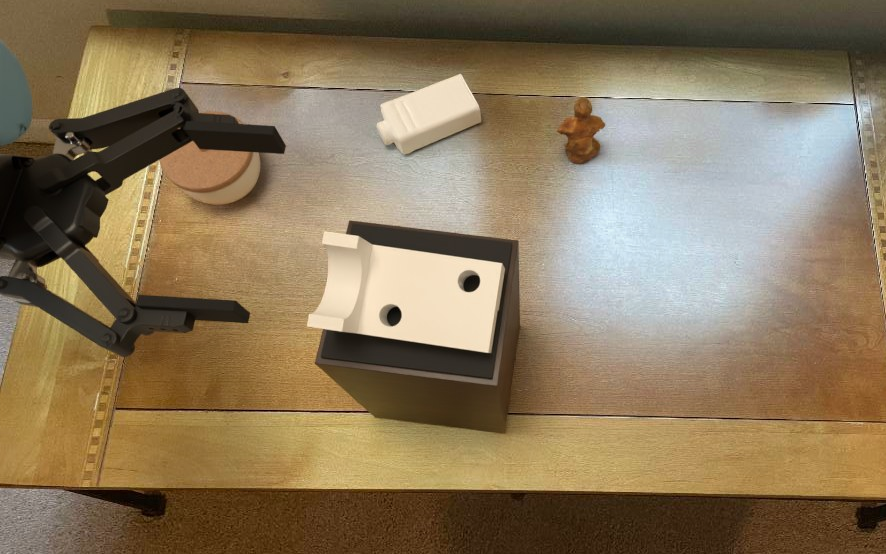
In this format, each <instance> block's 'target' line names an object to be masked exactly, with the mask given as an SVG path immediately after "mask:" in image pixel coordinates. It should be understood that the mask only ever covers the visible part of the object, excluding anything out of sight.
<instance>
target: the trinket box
mask: <svg viewBox="0 0 886 554" xmlns="http://www.w3.org/2000/svg"><path fill="white" fill-rule="evenodd" d="M199 113H207V114H221V115H222V114H224V115H231V116H233V117H235V118H236V120H237V121H238V123H239V124H244V122H242V121H241V119H239V118H238V117H236V116H234V115H232V114H230V113H227V112H223V111H214V110H209V111H202V112H201V111H199ZM178 129H180V128H178ZM158 162H159V166H160V168H161V171H162V173H163V174H164V176H165V177H166V178H167V179H168V180H169V181H170V182H171V183H172V184H173V185H175V186H176V187H177V188H178V189H180V190H181V191H182V192H183V193H184V194H185V195H187V196H188V197H189V198H192V199H194V200H196V201H199V202H201V203H204V204H208V205H215V206H218V205H220V206H221V205H227V204H232V203H235V202H237V201H240V200H241V199H243V198H244V197H246V196H247V195H249V193H250V192H251V191H252V190H253V189H254V187H255V186H256V184H257V182H258V180H259V177H260V174H261V165H262V164H261V157H260V153H258V152H241V151H224V150H207V149H199V148H198V146H197V145H196V144H195V143H194V141H192V142H190V143H188V144H187V145H185V146H183V147H181V148H179V149H178V150H176V151H174V152H172V153H171V154H169V155H167V156H165V157H163V158H162V159H160V160H158Z"/></svg>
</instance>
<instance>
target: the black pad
mask: <svg viewBox="0 0 886 554" xmlns="http://www.w3.org/2000/svg"><path fill="white" fill-rule="evenodd" d="M350 235H355V236H359V237H361V238H363V239H364V240H366V241H367V242H369V243H371V244H372V245H379V246H386V247H393V248H399V249H406V250H413V251H420V252H427V253H434V254H441V255H448V256H455V257H462V258H469V259H476V260H483V261H490V262H497V263H502V264H503V266H504V268H505V272H504V279H503V285H502V292H501V298H500V305H499V311H498V312H497V318H496V325H495V331H494V338H493V344H492V351H491V353H486V352H479V351H472V350H466V349H459V348H452V347H445V346H439V345H432V344H425V343H418V342H411V341H405V340H398V339H391V338H384V337H378V336H371V335H364V334H357V333H349V332H341V331H334V330H327V331H326V336H325V340H324V344H323V348H322V352H321V358H324V359H332V360H340V361H348V362H356V363H364V364H372V365H380V366H388V367H396V368H404V369H412V370H420V371H428V372H437V373H445V374H453V375H461V376H469V377H477V378H485V379H492V378H493V371H494V364H495V358H496V351H497V344H498V337H499V331H500V324H501V317H502V310H503V303H504V297H505V290H506V283H507V276H508V270H509V263H510V256H511V249H512V243H511V242H503V241H494V240H486V239H478V238H469V237H461V236H452V235H444V234H436V233H427V232H419V231H411V230H402V229H394V228H385V227H377V226H369V225H360V224H352V227H351V231H350ZM479 285H480V277H479V276H477V275H471V276H469V277H467V278H466V279H465V281H464V284H463V288H464V291H465V292H473V291H475V290H476V289H477V288H478V287H479ZM401 317H402V313H401V310H400V308H399V307H398V306H396V307H393V308H391V309H390V310H389V312H388V314H387V321H388V323H389V324H390V325H391V326H395V325H397V324H398V323H399V322H400V320H401Z"/></svg>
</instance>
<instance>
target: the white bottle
mask: <svg viewBox="0 0 886 554" xmlns="http://www.w3.org/2000/svg"><path fill="white" fill-rule="evenodd" d="M380 111H381V115H382V119H383V120H382V121H378V122H377V123H376V130H377V132H378V135H379V136H380V139H381V140H382V143H383V144H384V145H386V146H389V145H392V144H394V145H395V147H396V148H397V150H398V151H399V152H400V153H401V155H408V154H411V153H413V151H417V150H418V149H422V148H424V147H426V146H428V145H430V144H432V143H435V142H437V141H439V140H442V139H444V138H448V137H450V136H452V135H454V134H457V133H459V132H462V131H464V130H466V129H468V128H471V127H473V126H476V125H479V124H481V123H482V114H481V108H480V106H479V103H478V102H477V100H476V98H475V96H474V94H473V93H472V91H471V90H470V88H469V85H468V84H467V82H466V80H465V78H464V77H463V75H462V73H459V74H456V75H454V76H452V77H449V78H446V79H443V80H440V81H437V82H435V83H432V84H429V85H428V86H425V87H422V88H420V89H418V90H417V89H416V90H415V91H413V92H412V91H411V92H410V93H407V94H404V95H401V96H399V97H396V98H394V99H391V100H388V101H385V102H382V103H381V104H380Z"/></svg>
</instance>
